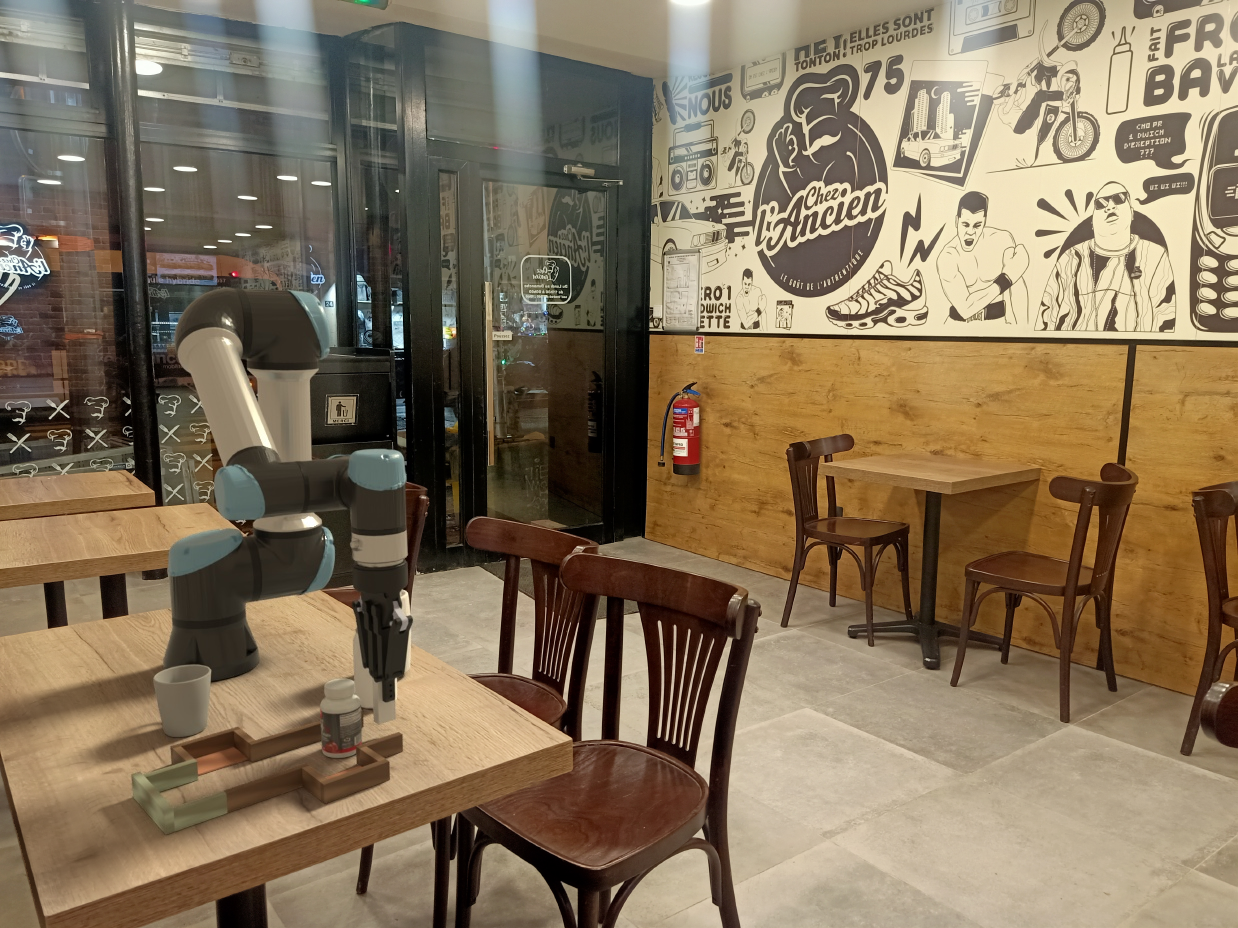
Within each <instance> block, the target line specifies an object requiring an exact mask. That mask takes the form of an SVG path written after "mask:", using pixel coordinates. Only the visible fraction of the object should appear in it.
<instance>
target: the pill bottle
mask: <svg viewBox="0 0 1238 928" xmlns="http://www.w3.org/2000/svg"><path fill="white" fill-rule="evenodd" d="M323 686H324V691H323V693H324V698H323V699H322V700H321V702H320V703H319V711H320V712H319V715H320V720H321V740H320V742H321V752H322V754H323V755H324V756H325V757H328V758H332V759H343V758H349V757H351V756H354V755H356V746H358V745H361V744H363V733H362V732H363V731H362V729H363V727H362V726H361V710H362V708H361V701H360V698H359V697H358V696H357V695H355V683H354V679H350V678H344V677H343V678H335V679H331V680H329V681H326V682H325V683H324V685H323Z"/></svg>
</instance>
